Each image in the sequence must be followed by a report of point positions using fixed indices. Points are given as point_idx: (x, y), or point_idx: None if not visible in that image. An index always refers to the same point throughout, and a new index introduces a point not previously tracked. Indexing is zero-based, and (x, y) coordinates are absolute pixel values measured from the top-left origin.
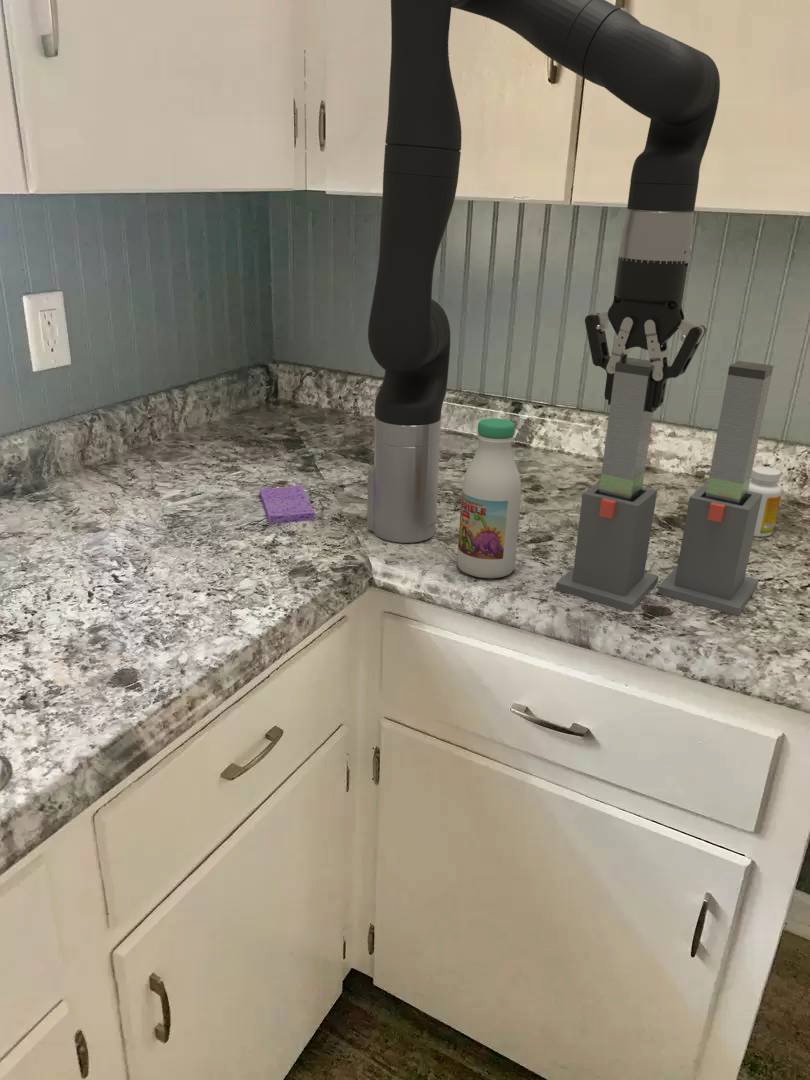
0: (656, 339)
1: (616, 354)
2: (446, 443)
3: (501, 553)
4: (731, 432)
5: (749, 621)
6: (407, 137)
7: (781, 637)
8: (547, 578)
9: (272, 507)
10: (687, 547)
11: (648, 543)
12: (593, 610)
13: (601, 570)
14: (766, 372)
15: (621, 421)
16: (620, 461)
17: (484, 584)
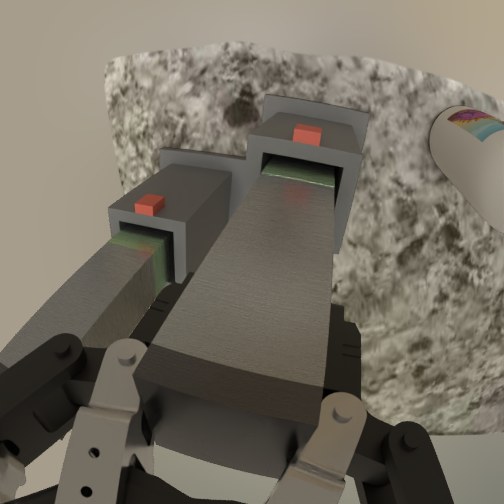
0: (62, 491)
1: (317, 470)
2: (489, 416)
3: (451, 119)
4: (86, 299)
5: (152, 141)
6: None
7: (124, 124)
8: (385, 141)
9: None
10: (206, 189)
11: None
12: (309, 77)
13: (312, 121)
14: None
15: (288, 243)
16: (290, 191)
17: (451, 96)
